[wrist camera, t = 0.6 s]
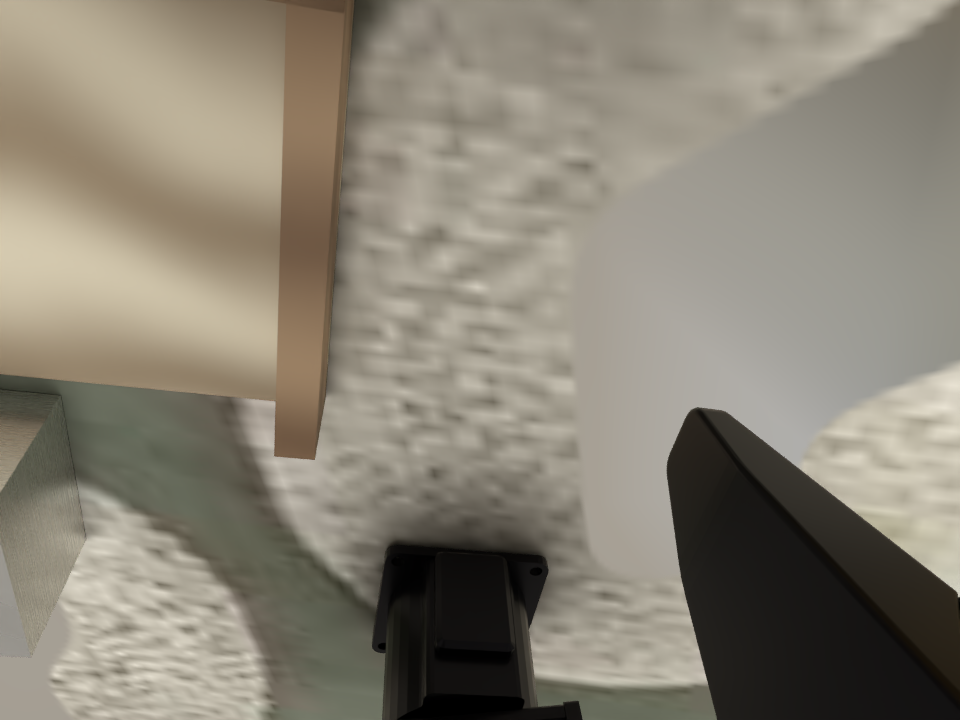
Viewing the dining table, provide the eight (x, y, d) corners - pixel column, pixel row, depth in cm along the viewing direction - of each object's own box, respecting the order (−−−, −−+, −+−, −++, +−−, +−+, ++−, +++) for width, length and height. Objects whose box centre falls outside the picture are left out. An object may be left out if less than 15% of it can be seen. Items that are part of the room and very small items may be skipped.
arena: (325, 398, 26) (314, 460, 24) (-133, 352, 24) (-196, 414, 22) (359, -70, 18) (348, -50, 16) (-321, -196, 16) (-454, -196, 14)
